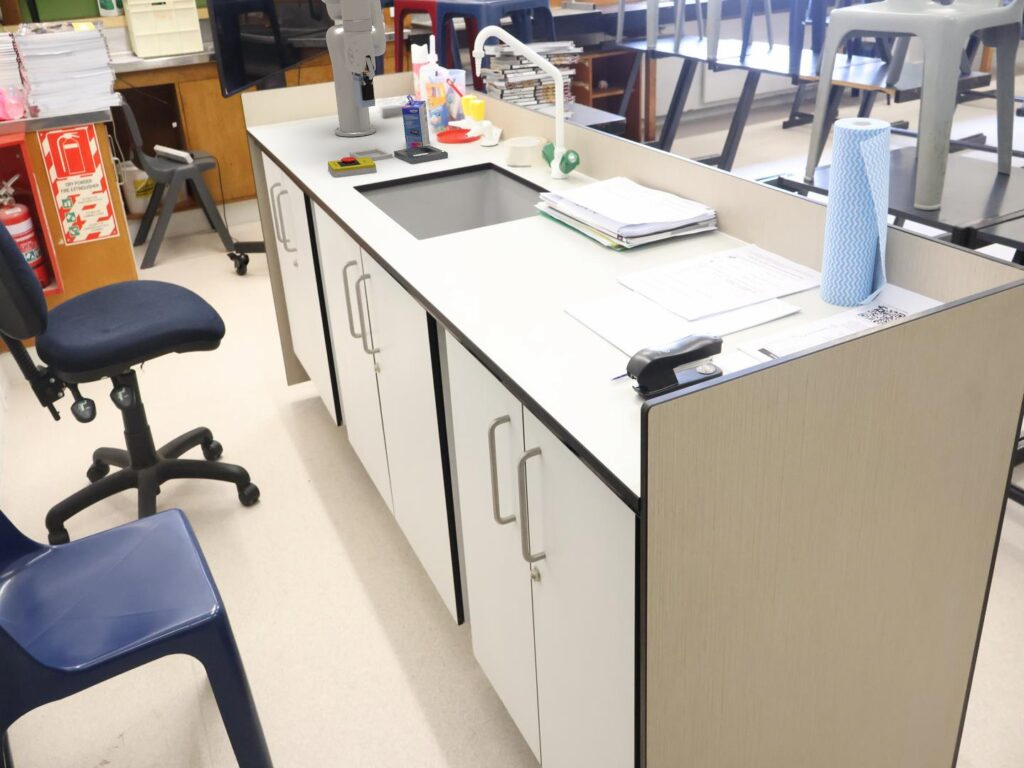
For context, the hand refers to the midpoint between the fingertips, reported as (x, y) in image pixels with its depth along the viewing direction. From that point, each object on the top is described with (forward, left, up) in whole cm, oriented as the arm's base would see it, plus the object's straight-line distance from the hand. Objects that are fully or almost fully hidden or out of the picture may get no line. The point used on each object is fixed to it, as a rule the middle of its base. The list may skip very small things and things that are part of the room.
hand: (364, 97), depth 245 cm
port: (+9, +11, -16) cm, 22 cm away
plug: (0, 0, -2) cm, 2 cm away
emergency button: (+11, -10, -17) cm, 23 cm away
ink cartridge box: (-5, +17, -17) cm, 24 cm away
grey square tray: (0, 0, -16) cm, 16 cm away
